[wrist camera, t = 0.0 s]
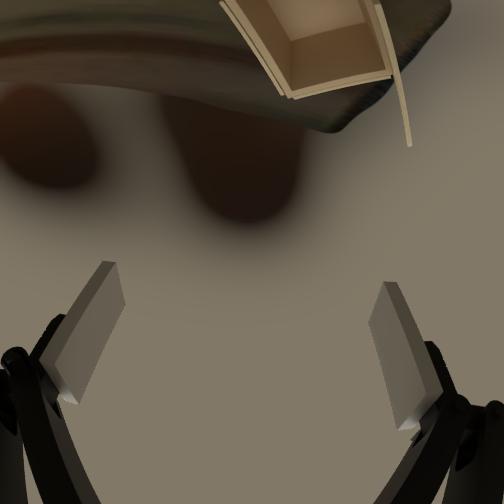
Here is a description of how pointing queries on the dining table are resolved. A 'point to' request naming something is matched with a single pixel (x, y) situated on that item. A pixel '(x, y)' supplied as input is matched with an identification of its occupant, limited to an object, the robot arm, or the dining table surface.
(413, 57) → the dining table surface
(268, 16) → the carton
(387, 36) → the flap
